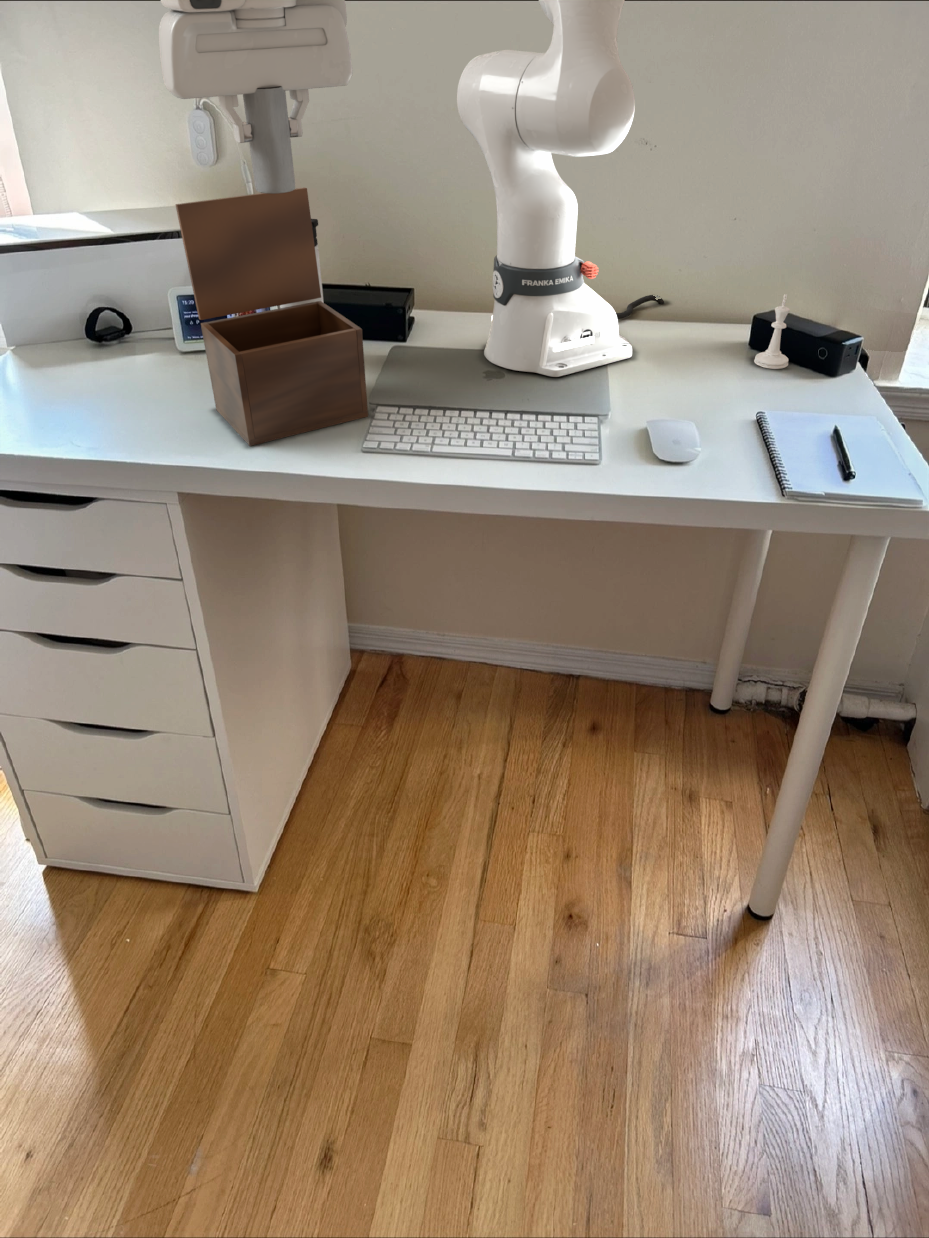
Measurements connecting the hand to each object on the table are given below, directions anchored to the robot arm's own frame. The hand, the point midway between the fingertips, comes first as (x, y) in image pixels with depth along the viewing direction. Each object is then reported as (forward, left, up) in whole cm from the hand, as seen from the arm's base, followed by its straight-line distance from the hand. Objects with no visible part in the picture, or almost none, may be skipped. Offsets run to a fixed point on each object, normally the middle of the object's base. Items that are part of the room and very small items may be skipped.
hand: (268, 139), depth 99 cm
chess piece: (-69, +7, -33) cm, 77 cm away
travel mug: (-5, -19, -33) cm, 39 cm away
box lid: (+2, -8, -14) cm, 16 cm away
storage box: (+1, -2, -33) cm, 33 cm away
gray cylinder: (0, 0, -5) cm, 5 cm away
